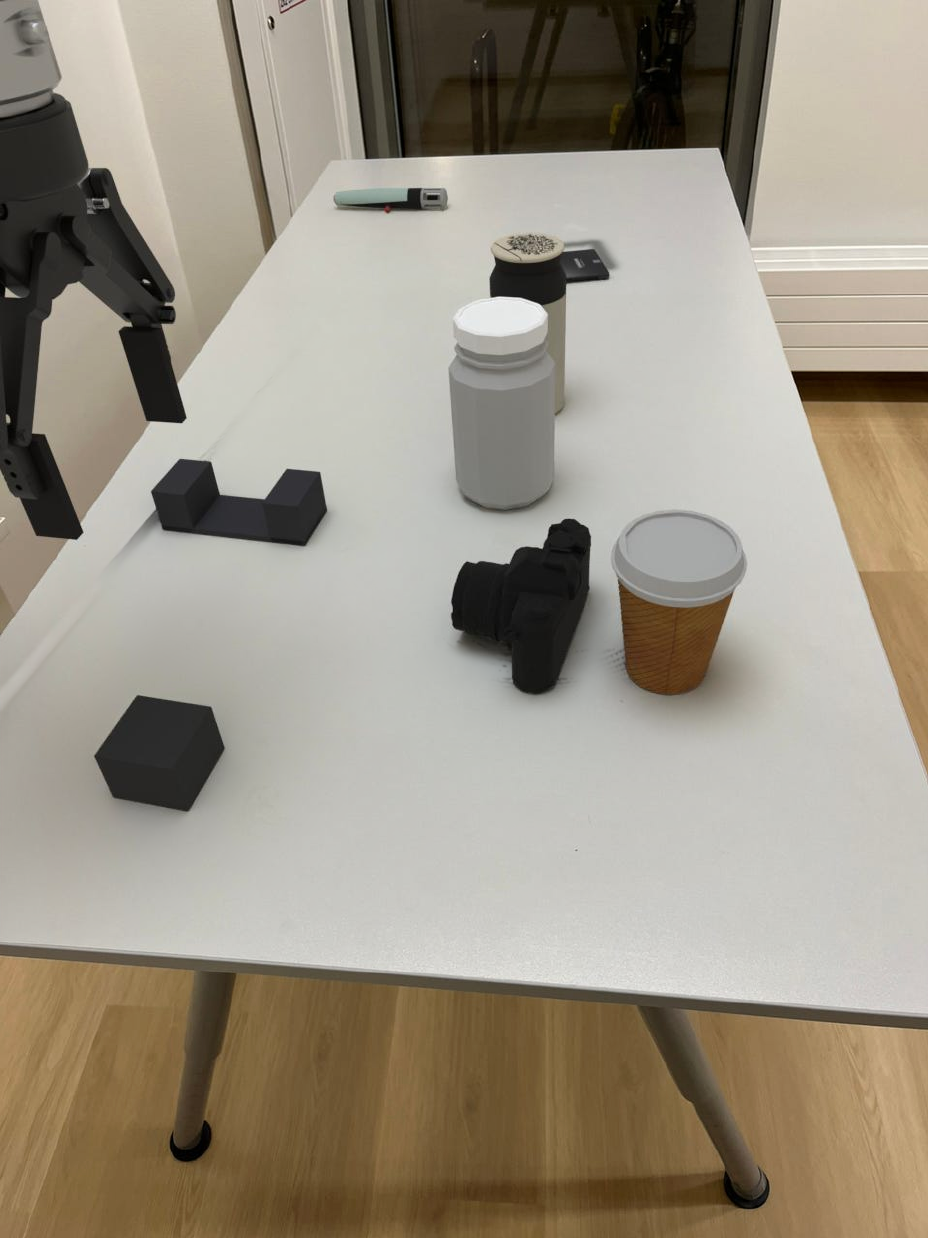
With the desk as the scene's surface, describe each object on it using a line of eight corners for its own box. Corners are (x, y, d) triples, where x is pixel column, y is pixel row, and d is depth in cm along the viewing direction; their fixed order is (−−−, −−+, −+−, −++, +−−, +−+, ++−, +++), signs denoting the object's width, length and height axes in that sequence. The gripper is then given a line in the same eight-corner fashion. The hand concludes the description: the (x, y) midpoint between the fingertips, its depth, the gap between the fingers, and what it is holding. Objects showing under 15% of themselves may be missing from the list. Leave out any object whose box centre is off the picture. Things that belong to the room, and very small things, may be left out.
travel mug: (547, 383, 112) (547, 226, 100) (575, 413, 106) (580, 250, 94) (483, 397, 110) (477, 239, 98) (509, 428, 104) (505, 264, 93)
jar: (456, 516, 92) (443, 340, 80) (457, 463, 99) (446, 295, 88) (557, 512, 92) (559, 335, 80) (551, 459, 99) (552, 289, 87)
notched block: (162, 529, 93) (150, 491, 90) (190, 496, 98) (179, 458, 95) (305, 546, 90) (297, 506, 87) (327, 510, 94) (320, 471, 91)
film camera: (494, 567, 86) (490, 482, 80) (599, 585, 83) (604, 499, 77) (434, 681, 75) (425, 593, 69) (553, 706, 72) (554, 617, 66)
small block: (112, 797, 68) (93, 756, 65) (153, 736, 72) (136, 694, 69) (188, 811, 67) (172, 770, 64) (225, 748, 71) (211, 706, 68)
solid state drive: (594, 253, 142) (594, 248, 141) (609, 278, 134) (610, 273, 134) (548, 257, 142) (548, 252, 141) (561, 282, 134) (561, 278, 134)
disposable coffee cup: (638, 612, 80) (649, 492, 72) (747, 653, 76) (770, 530, 68) (582, 680, 74) (587, 558, 66) (695, 728, 70) (715, 603, 62)
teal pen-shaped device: (328, 204, 161) (444, 203, 158) (332, 184, 163) (447, 183, 159) (333, 218, 164) (447, 218, 161) (337, 198, 166) (450, 197, 162)
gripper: (-120, 180, 37) (64, 602, 51) (172, 47, 55) (249, 383, 69) (-276, 179, 38) (-56, 588, 52) (58, 50, 57) (156, 378, 70)
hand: (117, 472), depth 61 cm, fingers open, 13 cm apart
